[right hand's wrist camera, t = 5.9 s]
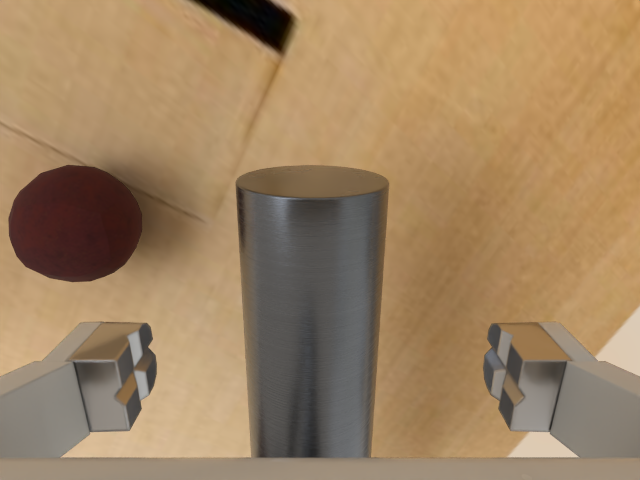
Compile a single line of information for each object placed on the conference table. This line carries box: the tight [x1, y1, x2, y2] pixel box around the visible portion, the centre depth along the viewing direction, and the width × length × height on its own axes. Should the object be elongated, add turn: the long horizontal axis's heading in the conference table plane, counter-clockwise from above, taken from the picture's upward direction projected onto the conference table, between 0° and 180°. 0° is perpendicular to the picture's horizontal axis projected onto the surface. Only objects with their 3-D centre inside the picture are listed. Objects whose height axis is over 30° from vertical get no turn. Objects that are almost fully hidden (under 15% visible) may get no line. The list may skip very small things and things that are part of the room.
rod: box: [236, 165, 389, 458], centre depth 22 cm, size 27×6×6 cm, turn 179°
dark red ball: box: [9, 165, 142, 282], centre depth 28 cm, size 7×8×7 cm
